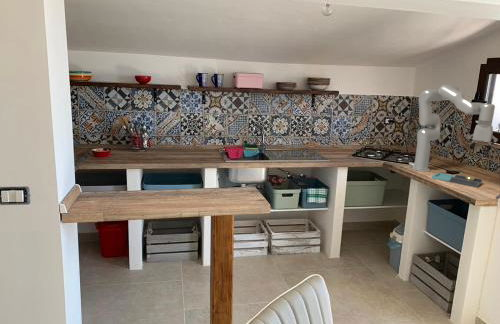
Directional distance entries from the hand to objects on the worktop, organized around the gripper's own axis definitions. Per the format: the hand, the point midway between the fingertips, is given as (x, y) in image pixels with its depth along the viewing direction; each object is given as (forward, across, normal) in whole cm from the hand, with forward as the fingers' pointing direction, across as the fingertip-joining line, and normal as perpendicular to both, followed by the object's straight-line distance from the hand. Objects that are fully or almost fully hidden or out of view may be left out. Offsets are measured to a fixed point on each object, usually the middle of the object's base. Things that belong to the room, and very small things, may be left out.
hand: (480, 150), depth 246 cm
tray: (+23, -19, 0) cm, 30 cm away
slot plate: (+23, -5, 0) cm, 24 cm away
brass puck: (+21, -3, 0) cm, 21 cm away
